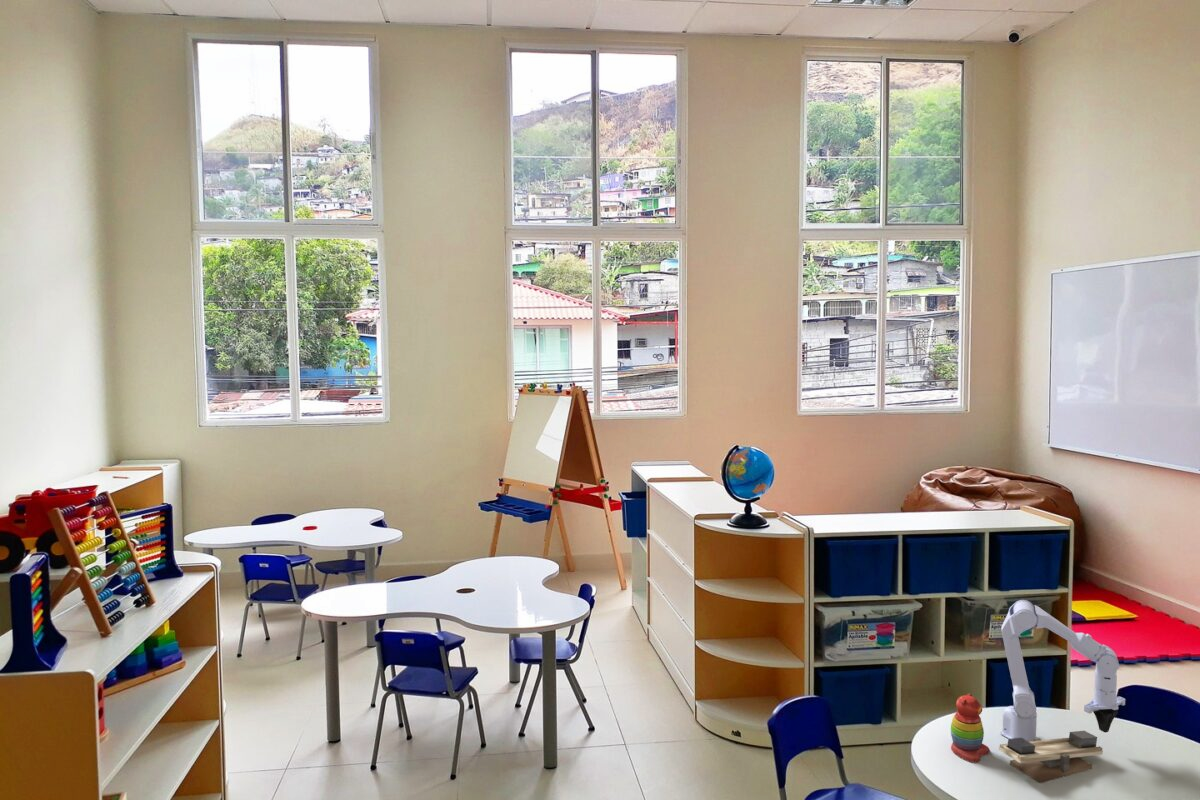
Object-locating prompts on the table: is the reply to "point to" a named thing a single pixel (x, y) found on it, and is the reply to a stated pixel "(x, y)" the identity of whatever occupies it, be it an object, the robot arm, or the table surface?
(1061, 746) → the balance beam
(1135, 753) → the table surface
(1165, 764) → the table surface
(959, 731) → the stacking bear
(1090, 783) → the table surface
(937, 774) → the table surface
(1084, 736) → the block
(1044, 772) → the beam stand
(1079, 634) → the robot arm
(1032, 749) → the block
